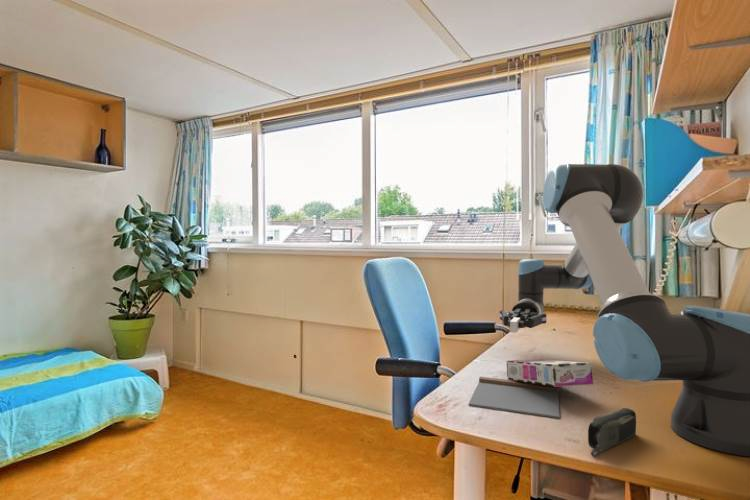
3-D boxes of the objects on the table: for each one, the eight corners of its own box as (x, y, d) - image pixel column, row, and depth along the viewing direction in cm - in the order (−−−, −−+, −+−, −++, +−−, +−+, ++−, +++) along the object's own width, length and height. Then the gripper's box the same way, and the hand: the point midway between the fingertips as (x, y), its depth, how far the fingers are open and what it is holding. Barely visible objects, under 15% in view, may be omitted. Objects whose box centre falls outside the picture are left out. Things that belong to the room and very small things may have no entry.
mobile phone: (622, 404, 80) (580, 422, 71) (639, 409, 78) (598, 428, 69) (621, 430, 80) (580, 451, 71) (638, 436, 78) (598, 459, 69)
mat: (559, 418, 84) (559, 416, 84) (468, 405, 91) (468, 403, 91) (557, 393, 98) (557, 391, 98) (479, 383, 105) (479, 381, 105)
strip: (557, 393, 99) (557, 387, 99) (479, 383, 105) (479, 378, 105) (557, 390, 100) (557, 385, 100) (480, 381, 107) (480, 376, 107)
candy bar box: (507, 381, 106) (554, 387, 91) (505, 360, 107) (552, 363, 92) (543, 378, 109) (594, 384, 94) (541, 359, 110) (592, 361, 95)
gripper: (549, 327, 124) (540, 345, 103) (503, 323, 130) (486, 339, 109) (549, 301, 123) (541, 314, 102) (503, 298, 129) (486, 310, 108)
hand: (513, 327), depth 106 cm, fingers closed
